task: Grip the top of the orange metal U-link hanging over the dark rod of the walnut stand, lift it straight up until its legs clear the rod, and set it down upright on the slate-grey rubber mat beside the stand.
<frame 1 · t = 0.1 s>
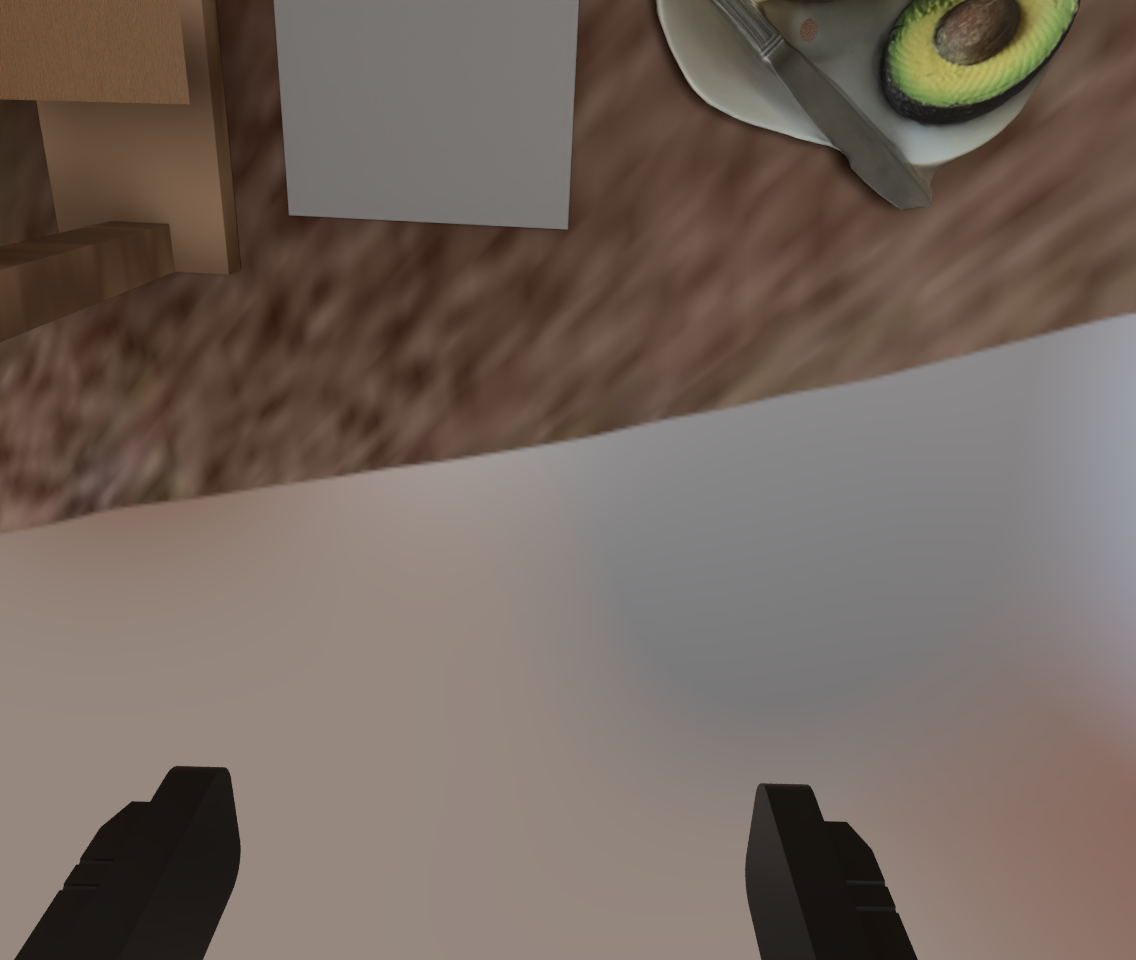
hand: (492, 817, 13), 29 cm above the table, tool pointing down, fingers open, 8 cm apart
stand: (134, 53, 35), on the table
mat: (429, 69, 36), on the table
link: (21, 36, 28), point 8 cm above the table, touching stand
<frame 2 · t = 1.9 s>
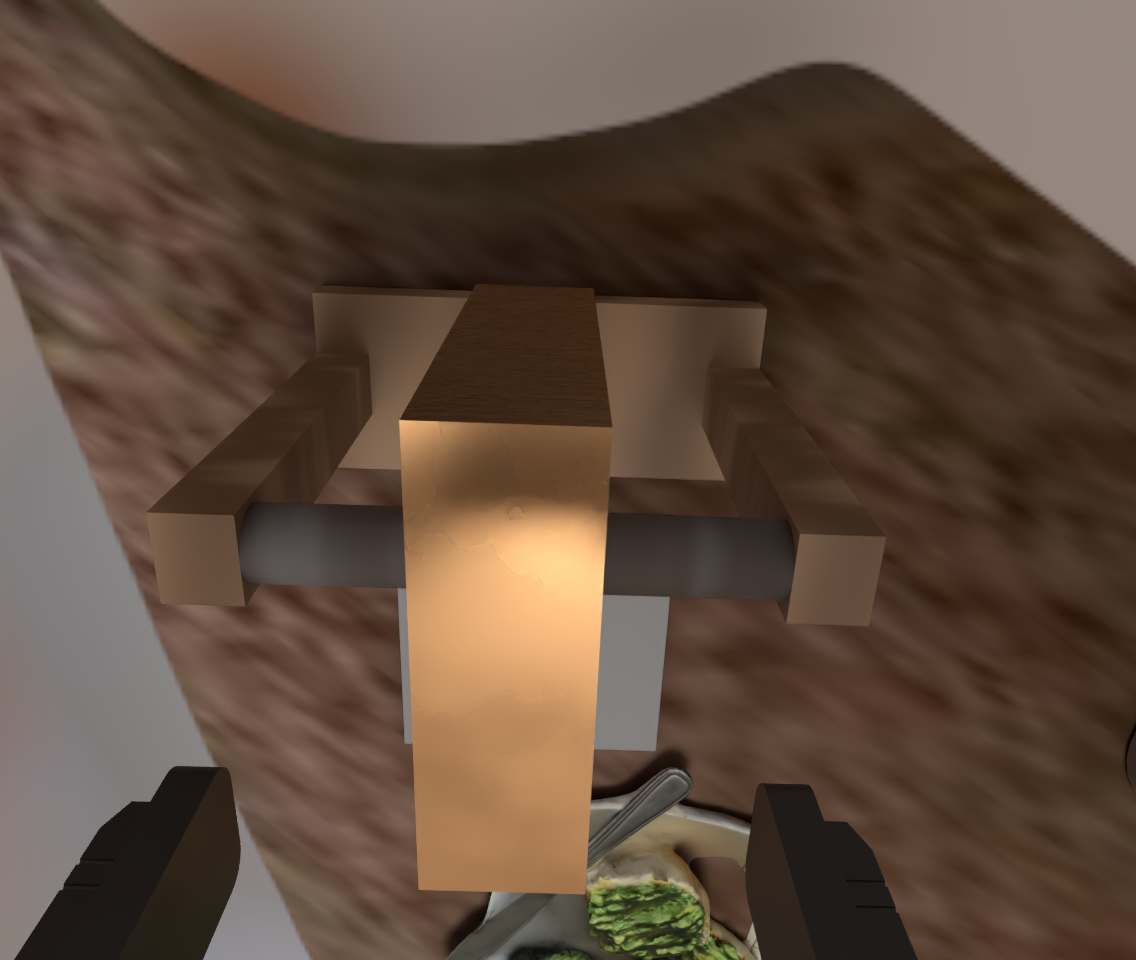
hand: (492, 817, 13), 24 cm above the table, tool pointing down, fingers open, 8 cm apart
stand: (539, 380, 35), on the table
salad plate: (627, 911, 47), on the table
mat: (533, 633, 40), on the table
link: (531, 450, 28), point 8 cm above the table, touching stand
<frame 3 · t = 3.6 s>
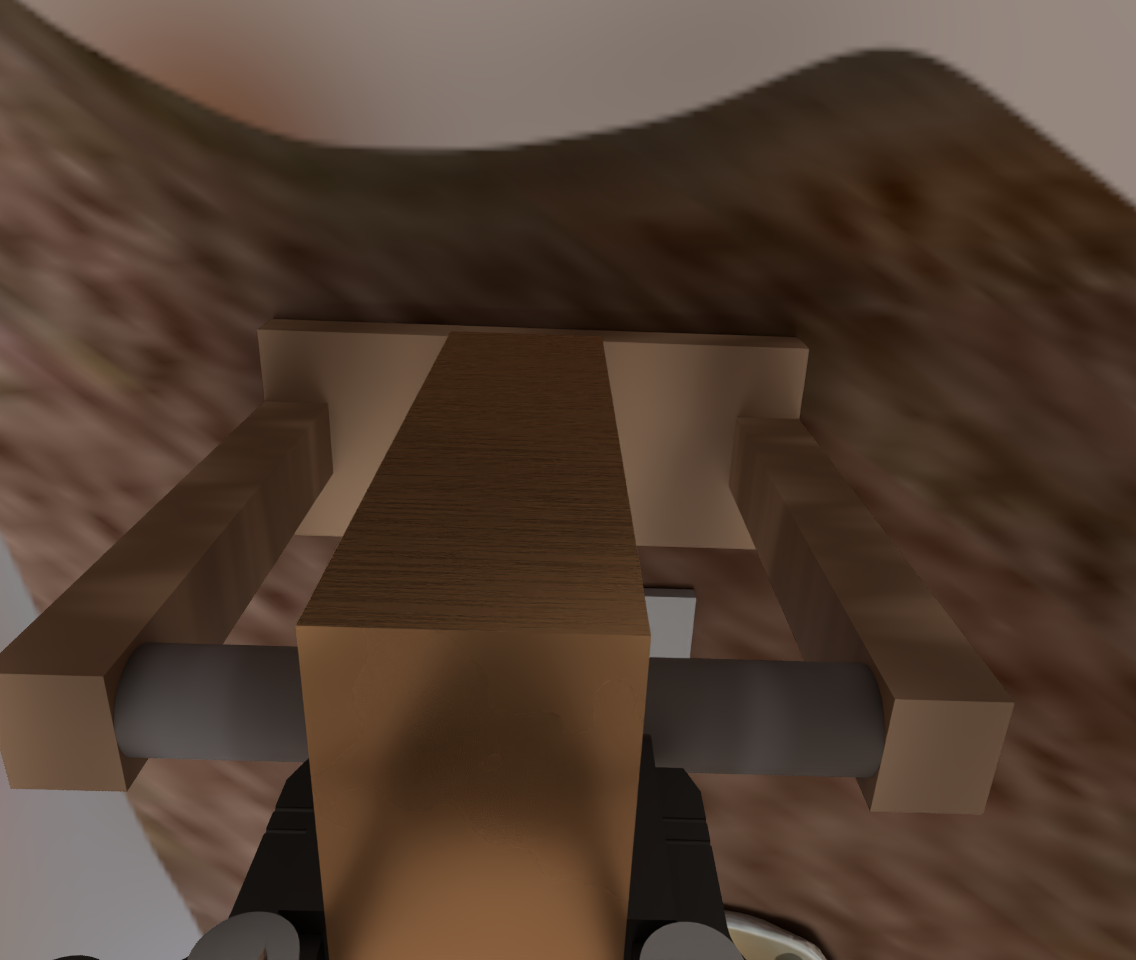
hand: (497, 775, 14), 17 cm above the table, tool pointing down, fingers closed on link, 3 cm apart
stand: (533, 430, 29), on the table
mat: (527, 718, 34), on the table
link: (523, 535, 22), point 8 cm above the table, touching gripper, stand
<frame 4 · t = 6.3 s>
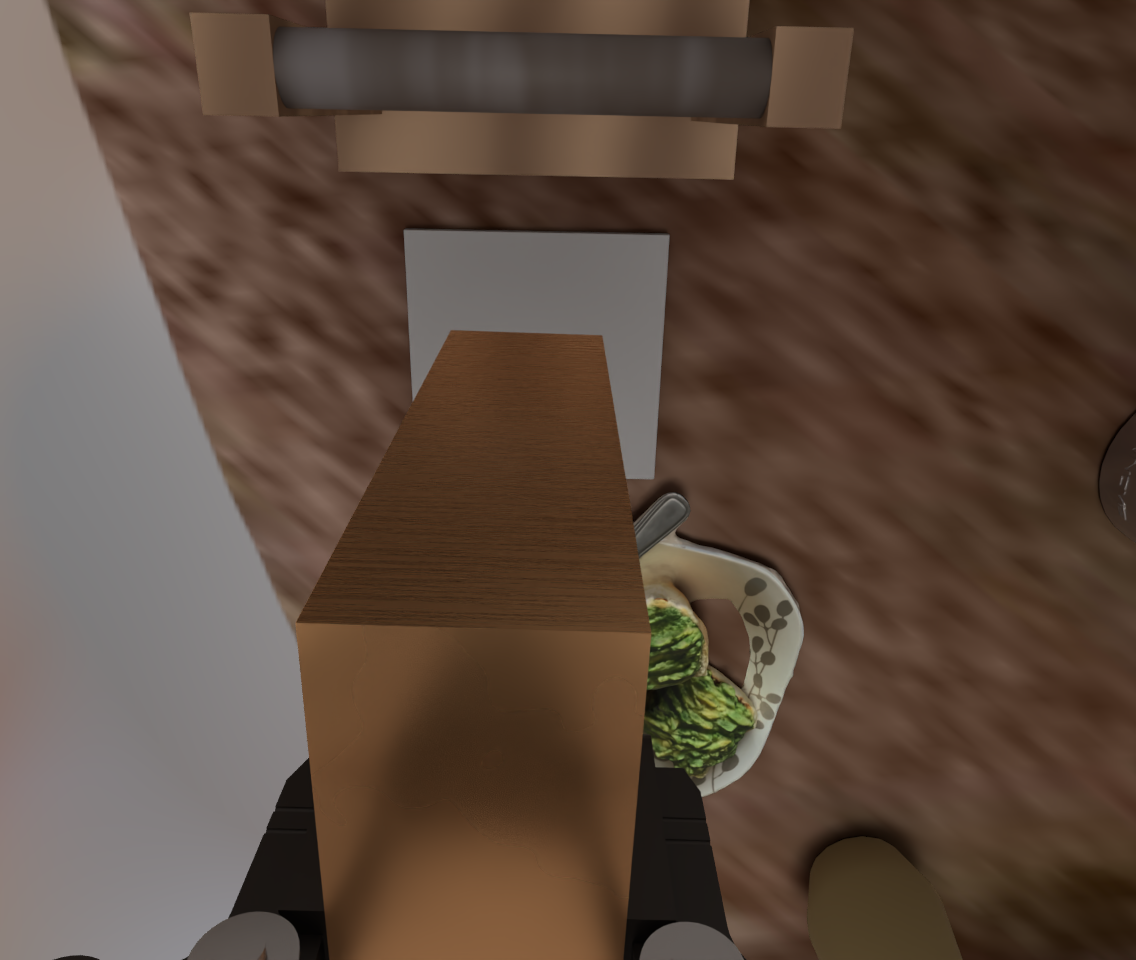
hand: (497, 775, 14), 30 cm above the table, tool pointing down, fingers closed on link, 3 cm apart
stand: (538, 87, 37), on the table
salad plate: (630, 663, 50), on the table
mat: (536, 358, 42), on the table
link: (523, 534, 22), point 21 cm above the table, touching gripper
squeeze bottle: (854, 866, 56), on the table
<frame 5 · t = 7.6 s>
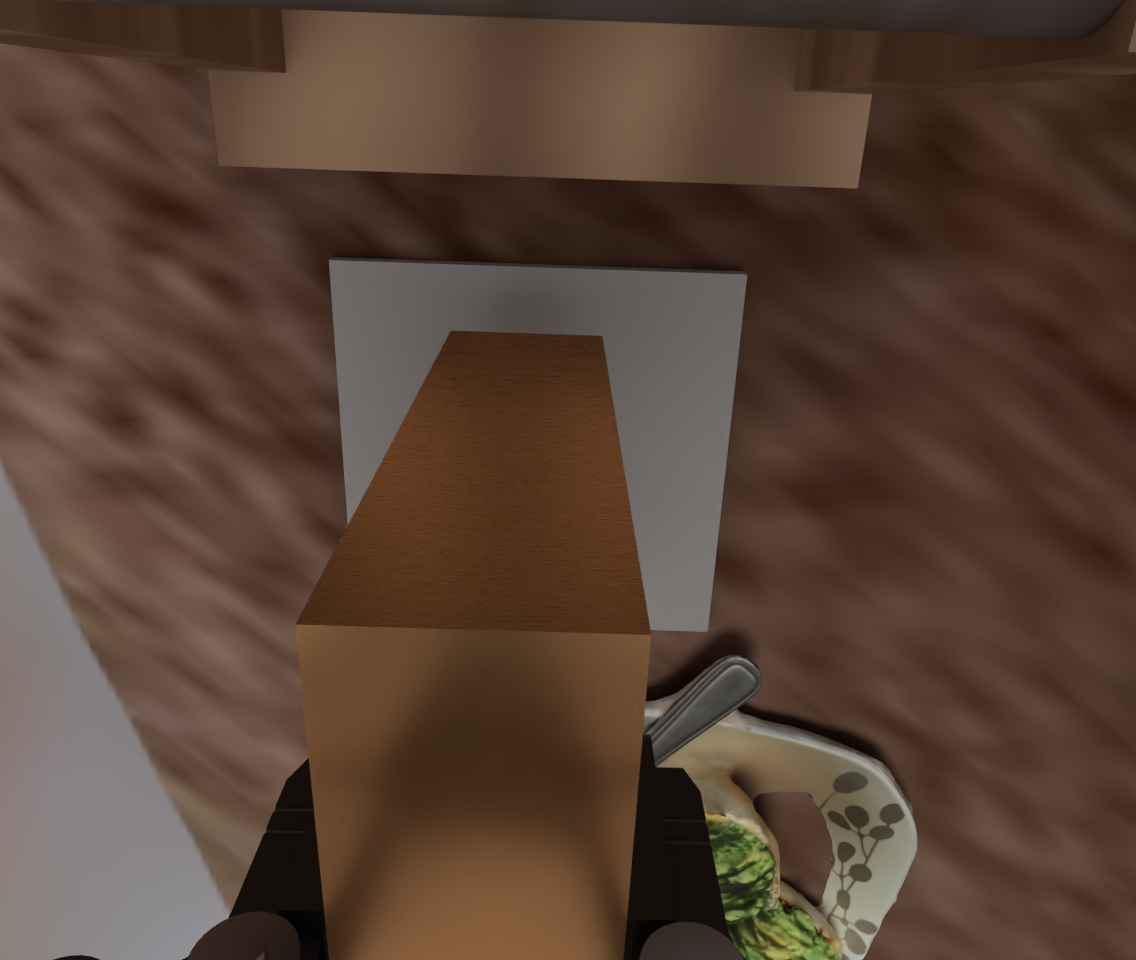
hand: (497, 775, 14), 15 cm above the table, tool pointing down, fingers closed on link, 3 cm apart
stand: (543, 34, 23), on the table
salad plate: (662, 867, 35), on the table
mat: (535, 455, 28), on the table
link: (523, 534, 22), point 6 cm above the table, touching gripper
when the fingers open (10 cm above the table, at t = 8.8 s): link stays where it is, resting on mat.
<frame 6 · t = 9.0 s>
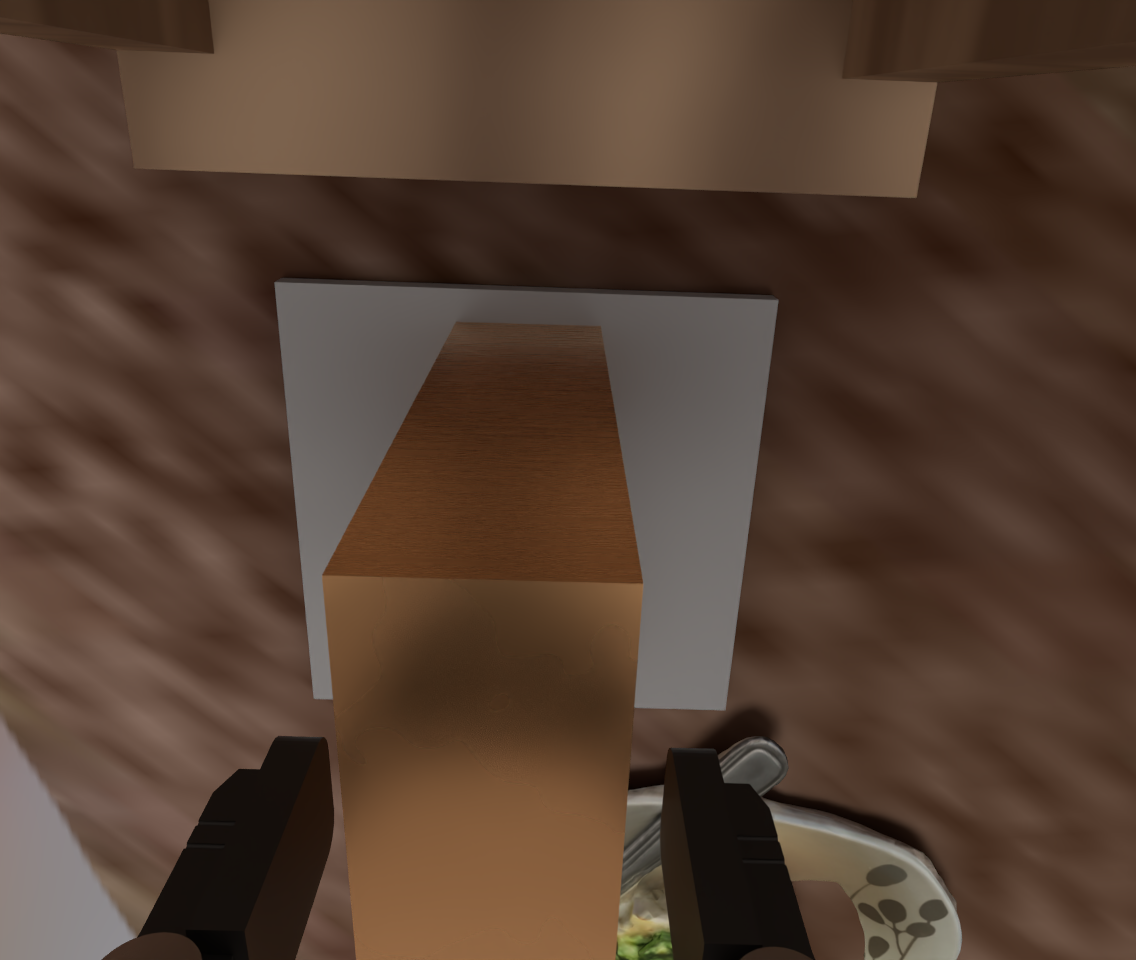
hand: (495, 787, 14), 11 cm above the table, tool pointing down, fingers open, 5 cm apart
stand: (533, 8, 19), on the table
mat: (524, 509, 24), on the table
link: (525, 518, 23), point 1 cm above the table, touching mat
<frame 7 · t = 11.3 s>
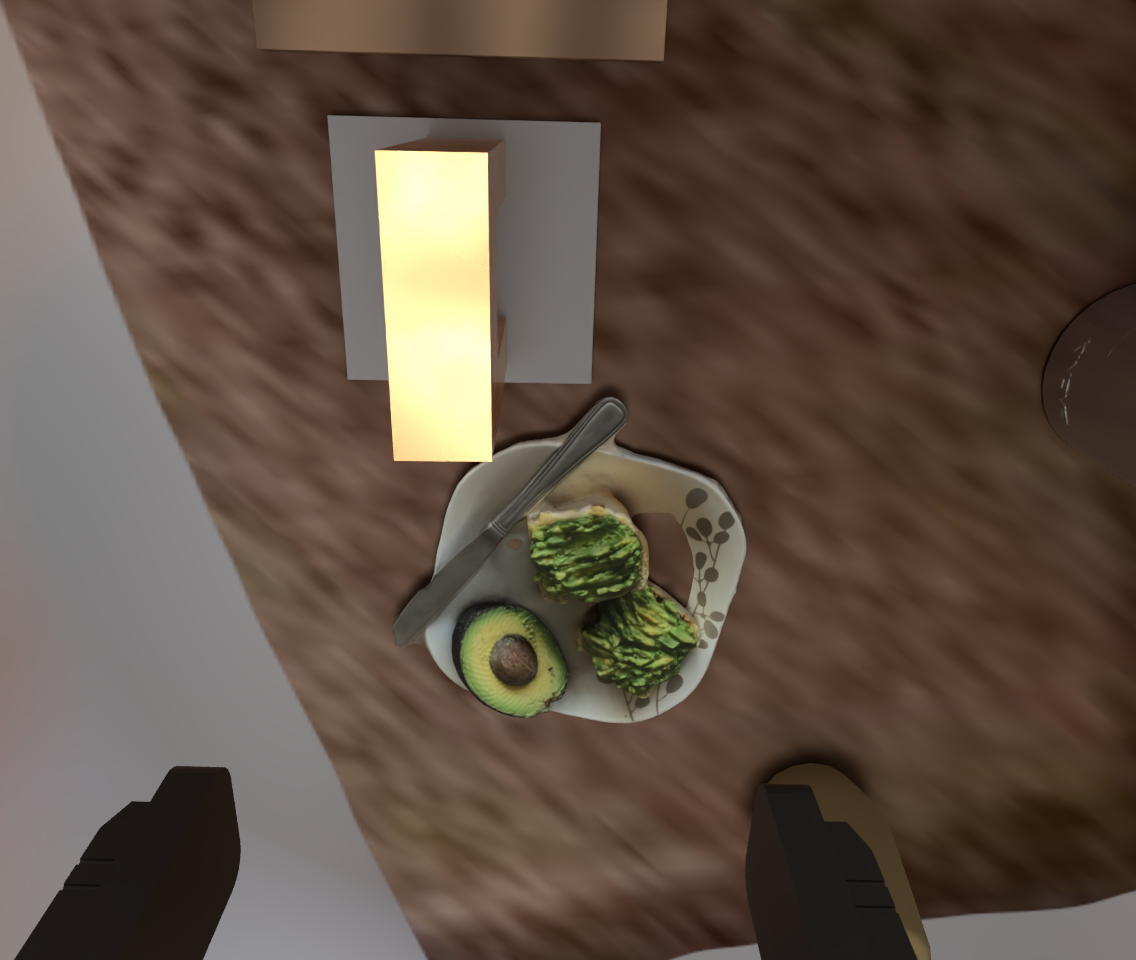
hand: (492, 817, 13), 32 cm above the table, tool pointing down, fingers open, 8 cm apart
salad plate: (573, 581, 49), on the table
mat: (468, 256, 41), on the table
link: (468, 257, 41), point 1 cm above the table, touching mat
squeeze bottle: (803, 794, 55), on the table
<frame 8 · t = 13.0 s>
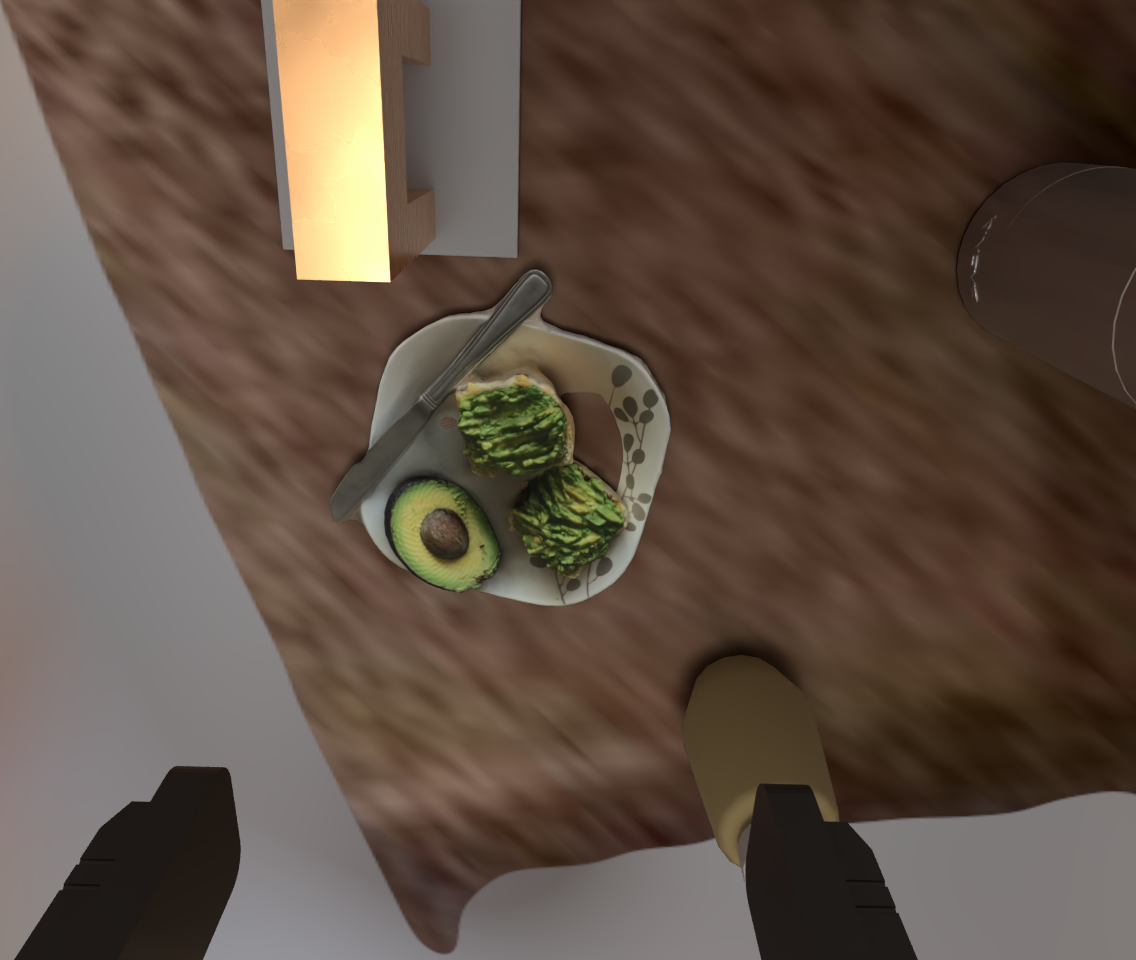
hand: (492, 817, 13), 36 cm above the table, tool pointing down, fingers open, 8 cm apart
salad plate: (506, 464, 51), on the table
mat: (397, 127, 43), on the table
link: (396, 127, 42), point 1 cm above the table, touching mat
squeeze bottle: (736, 689, 56), on the table
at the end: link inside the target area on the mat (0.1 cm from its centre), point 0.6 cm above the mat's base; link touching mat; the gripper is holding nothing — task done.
